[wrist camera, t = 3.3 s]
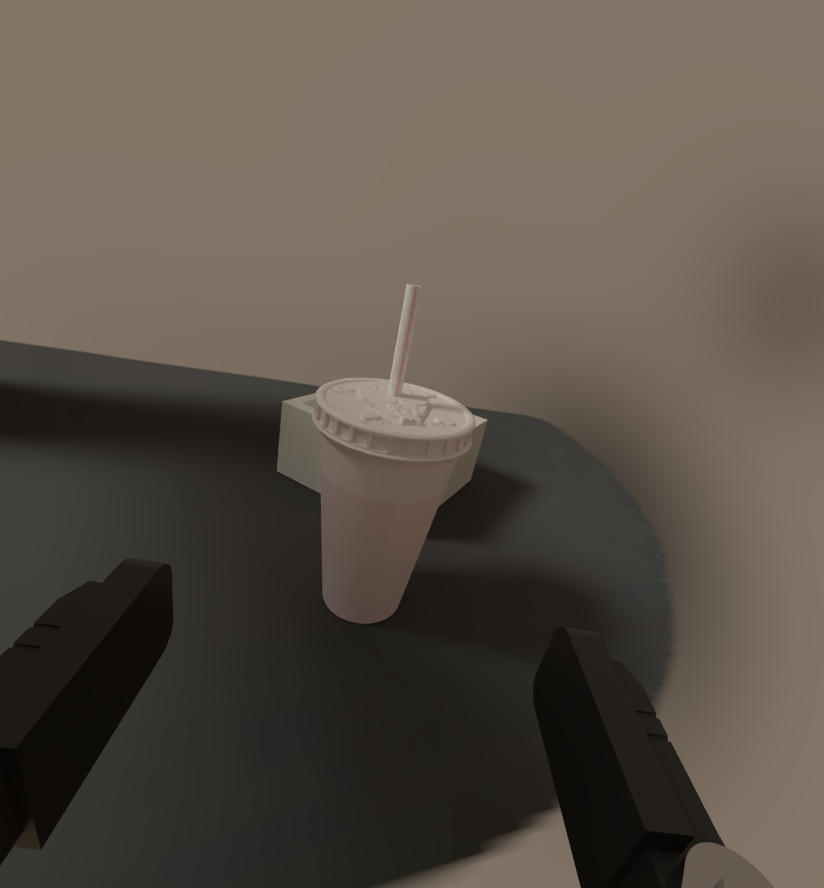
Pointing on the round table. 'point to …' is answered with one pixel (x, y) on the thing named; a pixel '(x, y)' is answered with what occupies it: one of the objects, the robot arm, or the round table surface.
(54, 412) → the round table surface
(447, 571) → the round table surface
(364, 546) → the smoothie
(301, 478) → the box
